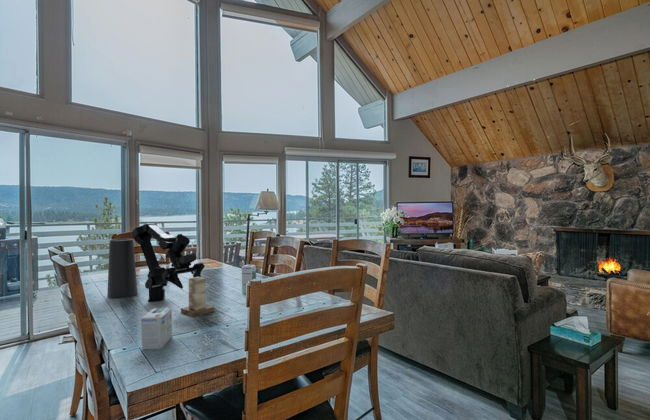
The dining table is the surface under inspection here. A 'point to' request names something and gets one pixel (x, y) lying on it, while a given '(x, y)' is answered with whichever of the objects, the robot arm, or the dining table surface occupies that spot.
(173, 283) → the robot arm
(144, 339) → the light bulb box
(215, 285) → the dining table surface
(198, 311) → the walnut block
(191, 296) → the maple block
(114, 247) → the vase
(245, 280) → the syrup box
